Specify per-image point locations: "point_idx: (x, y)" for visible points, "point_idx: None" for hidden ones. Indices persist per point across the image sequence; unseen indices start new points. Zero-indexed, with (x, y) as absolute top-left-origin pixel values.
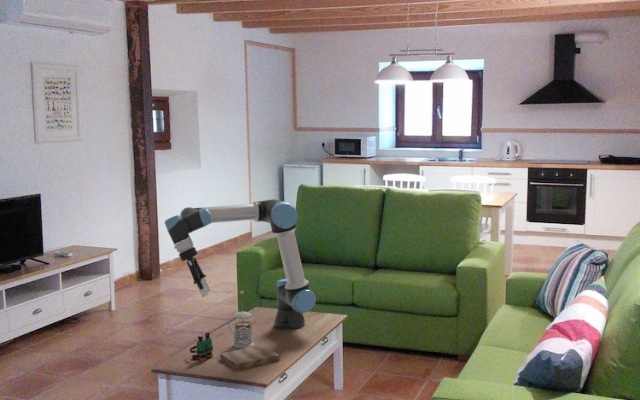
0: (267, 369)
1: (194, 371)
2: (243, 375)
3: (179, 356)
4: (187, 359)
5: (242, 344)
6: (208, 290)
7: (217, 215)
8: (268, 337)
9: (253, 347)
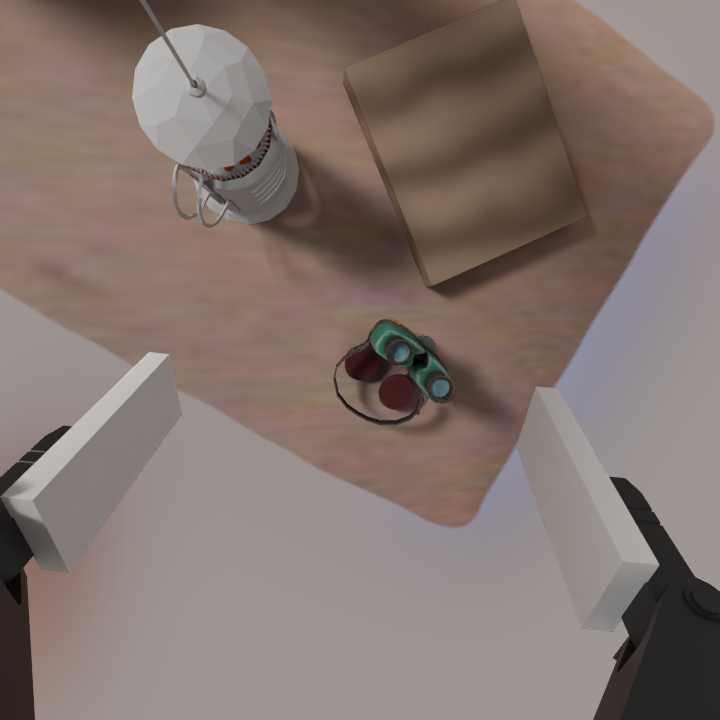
0: (592, 88)
1: None
2: (629, 198)
3: (356, 458)
4: None
5: (286, 172)
6: (166, 383)
7: None
8: (148, 20)
9: (381, 117)
